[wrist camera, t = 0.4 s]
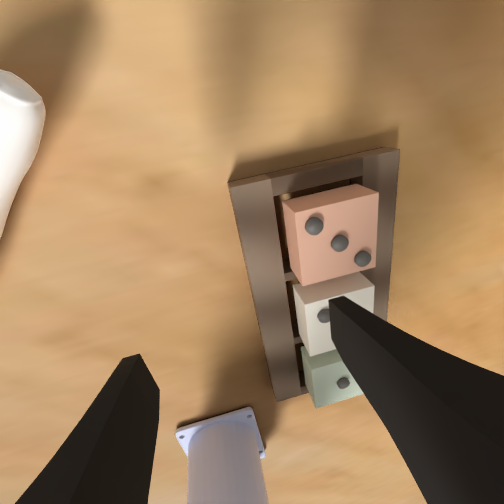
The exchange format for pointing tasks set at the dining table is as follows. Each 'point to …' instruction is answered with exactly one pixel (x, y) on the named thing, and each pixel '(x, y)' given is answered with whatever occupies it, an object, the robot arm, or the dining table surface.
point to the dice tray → (277, 272)
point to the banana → (17, 135)
